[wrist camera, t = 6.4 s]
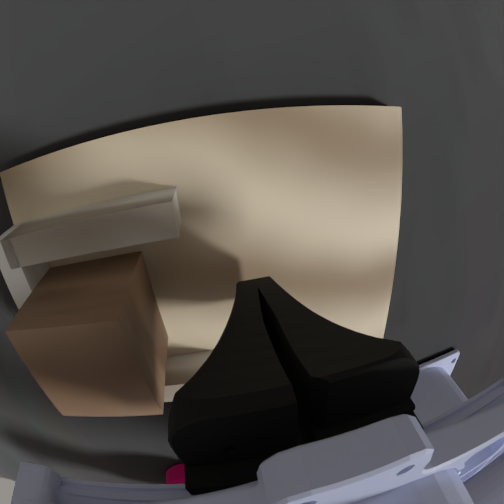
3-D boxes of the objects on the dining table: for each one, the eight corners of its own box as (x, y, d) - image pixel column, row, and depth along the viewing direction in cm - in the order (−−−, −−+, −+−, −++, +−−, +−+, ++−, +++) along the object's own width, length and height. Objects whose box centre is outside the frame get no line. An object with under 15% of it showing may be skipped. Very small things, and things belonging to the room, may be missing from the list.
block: (168, 336, 14) (163, 414, 10) (85, 345, 13) (62, 415, 9) (141, 250, 12) (117, 320, 8) (50, 267, 11) (4, 331, 7)
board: (372, 347, 18) (393, 380, 15) (105, 392, 16) (97, 430, 14) (388, 106, 12) (431, 109, 9) (11, 167, 10) (-28, 185, 7)
